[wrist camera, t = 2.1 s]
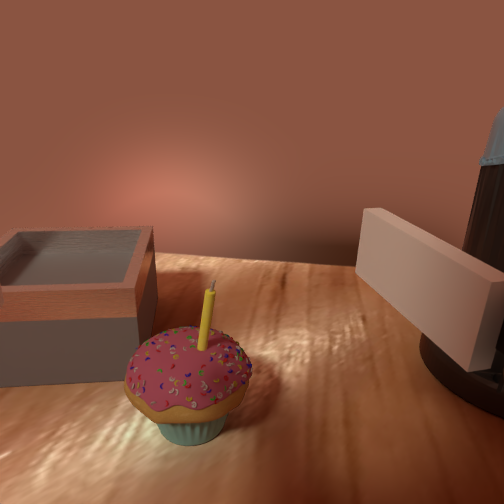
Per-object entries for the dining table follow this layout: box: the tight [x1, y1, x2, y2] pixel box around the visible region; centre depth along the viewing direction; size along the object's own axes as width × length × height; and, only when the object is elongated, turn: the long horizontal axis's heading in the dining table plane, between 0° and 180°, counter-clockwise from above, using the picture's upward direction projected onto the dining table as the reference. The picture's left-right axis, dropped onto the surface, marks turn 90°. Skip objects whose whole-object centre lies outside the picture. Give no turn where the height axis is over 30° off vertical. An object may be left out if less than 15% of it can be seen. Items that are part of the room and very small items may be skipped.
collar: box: [0, 226, 154, 322], centre depth 38 cm, size 14×14×2 cm
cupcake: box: [124, 280, 253, 446], centre depth 29 cm, size 9×8×12 cm
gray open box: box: [0, 250, 158, 387], centre depth 40 cm, size 14×14×6 cm
